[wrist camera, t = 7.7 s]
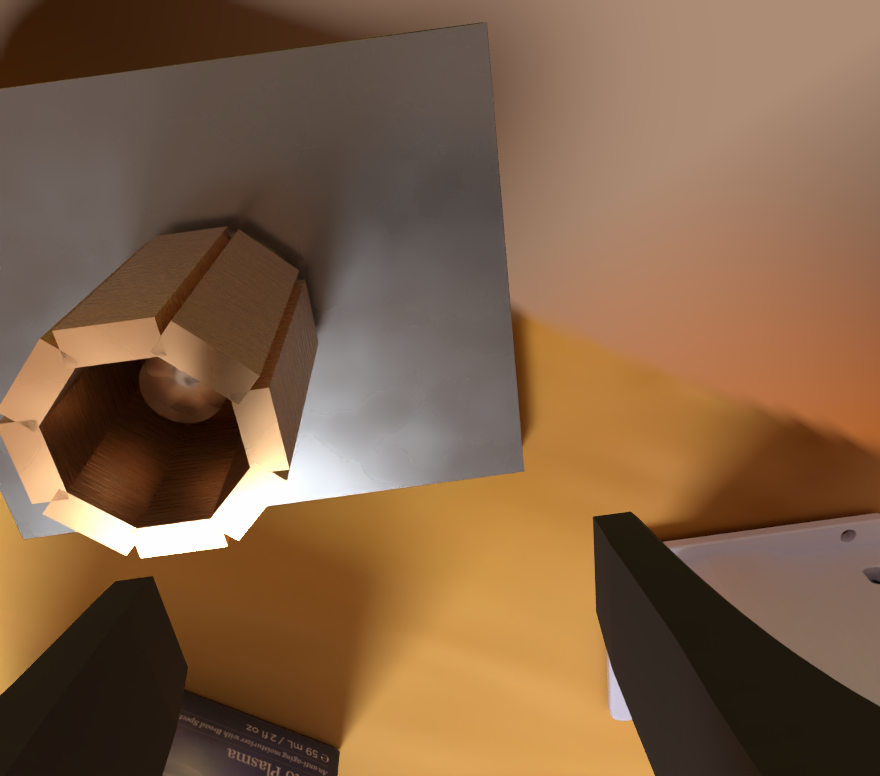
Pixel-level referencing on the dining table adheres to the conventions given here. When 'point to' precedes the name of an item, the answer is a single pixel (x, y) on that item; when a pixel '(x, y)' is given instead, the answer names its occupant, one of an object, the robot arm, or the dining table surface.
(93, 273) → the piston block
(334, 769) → the small box
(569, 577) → the dining table surface
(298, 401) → the brown hollow prism
